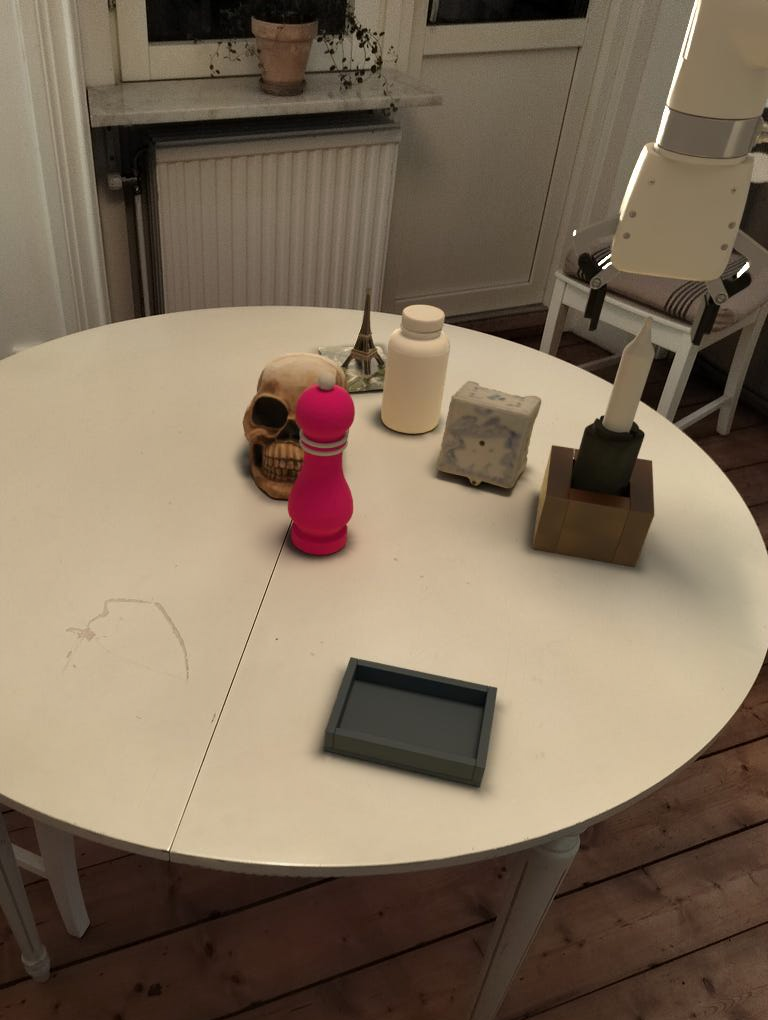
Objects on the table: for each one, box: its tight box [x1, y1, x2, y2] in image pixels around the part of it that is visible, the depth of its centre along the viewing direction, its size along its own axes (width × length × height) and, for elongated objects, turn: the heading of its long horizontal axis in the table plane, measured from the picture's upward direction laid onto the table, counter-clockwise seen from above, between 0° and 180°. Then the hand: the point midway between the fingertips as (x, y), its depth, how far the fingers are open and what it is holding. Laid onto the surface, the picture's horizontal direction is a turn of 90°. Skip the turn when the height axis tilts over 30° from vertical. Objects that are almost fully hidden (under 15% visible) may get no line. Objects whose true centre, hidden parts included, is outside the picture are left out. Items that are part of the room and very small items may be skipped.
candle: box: [571, 316, 656, 497], centre depth 91 cm, size 5×5×25 cm
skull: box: [242, 351, 350, 500], centre depth 107 cm, size 16×17×13 cm
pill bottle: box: [380, 304, 451, 434], centre depth 113 cm, size 8×8×15 cm
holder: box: [531, 444, 655, 568], centre depth 97 cm, size 11×11×7 cm
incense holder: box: [436, 380, 542, 489], centre depth 105 cm, size 10×8×10 cm
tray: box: [323, 656, 498, 788], centre depth 76 cm, size 14×10×2 cm
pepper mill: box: [287, 372, 356, 556], centre depth 91 cm, size 7×7×20 cm
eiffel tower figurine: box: [318, 279, 387, 393], centre depth 124 cm, size 15×10×13 cm
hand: (642, 332), depth 84 cm, fingers open, 9 cm apart
